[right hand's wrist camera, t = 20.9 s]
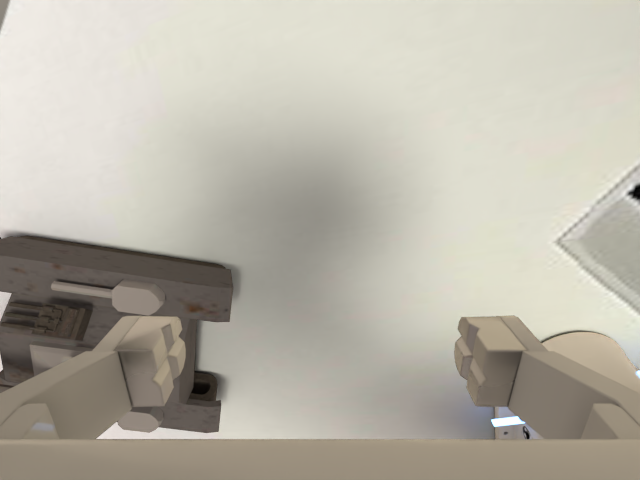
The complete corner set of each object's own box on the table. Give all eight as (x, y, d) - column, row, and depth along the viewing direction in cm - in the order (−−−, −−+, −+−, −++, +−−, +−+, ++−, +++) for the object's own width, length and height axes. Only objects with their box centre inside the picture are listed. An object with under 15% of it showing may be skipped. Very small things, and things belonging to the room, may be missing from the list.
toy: (242, 265, 41) (202, 354, 27) (229, 399, 48) (192, 523, 34) (8, 229, 39) (-164, 303, 25) (31, 373, 46) (-93, 493, 33)
